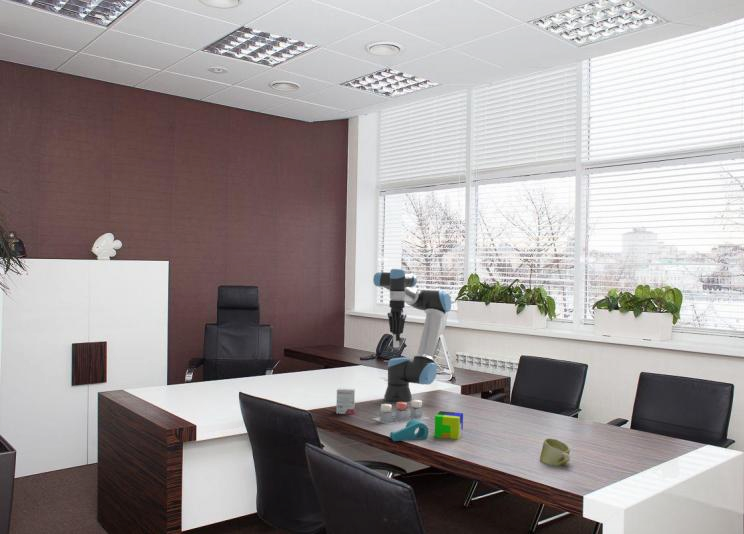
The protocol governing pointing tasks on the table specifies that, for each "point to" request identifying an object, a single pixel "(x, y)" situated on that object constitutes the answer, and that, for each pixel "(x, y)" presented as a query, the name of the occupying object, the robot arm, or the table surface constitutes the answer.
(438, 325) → the robot arm
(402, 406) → the knob mid
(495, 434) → the table surface
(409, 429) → the tape dispenser
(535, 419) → the table surface
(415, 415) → the console
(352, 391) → the ink box
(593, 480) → the table surface
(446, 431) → the puzzle toy
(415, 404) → the knob inner
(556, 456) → the mug
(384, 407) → the knob outer
